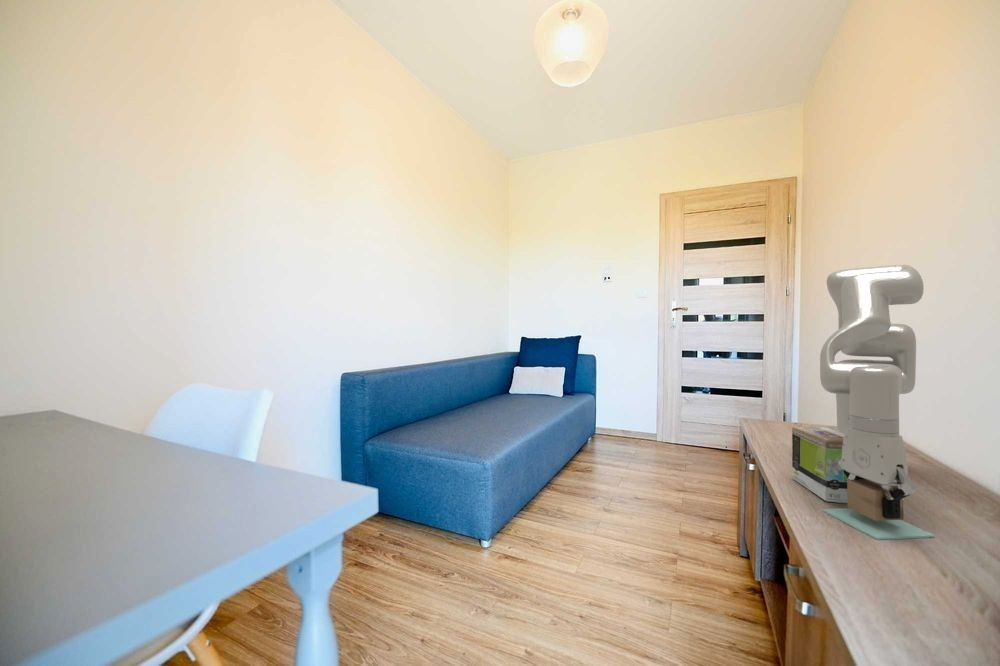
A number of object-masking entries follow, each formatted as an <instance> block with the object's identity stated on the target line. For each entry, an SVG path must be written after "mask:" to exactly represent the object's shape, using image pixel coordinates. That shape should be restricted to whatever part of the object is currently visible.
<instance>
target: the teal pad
mask: <svg viewBox="0 0 1000 666" xmlns="http://www.w3.org/2000/svg"><path fill="white" fill-rule="evenodd" d="M821 511H822V512H823V513H824V514H825V513H826V514H827V515H829V516H831V517H833V518H834V519H837V520H839V521H840V522H842V523H844V524H847V525H848V526H850V527H852V528H854V529H856V530H857V531H859V532H861V533H862V534H865V535H866V536H869V537H871V538H872V539H875V540H880V541H881V540H899V539H901V540H902V539H904V540H905V539H926V538H927V539H928V538H929V537H932V538H935V537H936V536H935V534H933V533H931V532H929V531H926V530H924V529H922V528H920V527H917V526H915V525H912V524H911V523H908V522H906V521H904V520H879V521H875V520H873V519H871V518H869V517H867V516H865V515H863V514H861V513H859V512H856V511H854V510H852V509H850V508H848V507H845V508H823V509H821Z"/></svg>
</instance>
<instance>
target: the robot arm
mask: <svg viewBox="0 0 1000 666" xmlns="http://www.w3.org/2000/svg"><path fill="white" fill-rule="evenodd" d="M826 288H827V291H828V293H829V295H830V297H831V298H832V301H833V302H834V304H835V306H836V308H837V309H836V310H837V313H838V315H837V317H838V318H837V320H838V325H837V326H838V330H836V331H835V332H833V333H832V334H831V335H830V336H829V337H828V338H827V340H825V342H824V343H823V345H822V347H821V350H820V354H819V355H820V356H819V378H820V379H819V380H820V385H821V386H822V388H823V389H824V390H825V391H826V392H828V393H830V394H834V395H835V399H836V430H837V431H840V432H843V433H845V434H844V439H843V446H842V459H840V460H839V461H838V464H839V465H840V467H841V468H842V470H843V472H844V474H845V475H846V476H847V478H848V480H858V479H866V480H869V481H871V482H874V483H877V484H880V485H881V486H882V489H883V491H884V494H885V497H886V498H883V500H882V502H883V517H884V518H886V519H893V518H900V500H903V501H904V500H905V498H907V497H908V496H910V495H912V494H914V493H916V492H918V490H919V488H918V486H917V485H916V484H915V482H913V480H912V479H911V477H910V476H909V475H908V474H909V473H908V471H909V470H908V460H907V459H908V458H907V453H906V447H905V443H904V439H903V436H902V435H900V395H906V394H909V393H912V392H913V390H914V388H915V385H916V373H917V372H916V370H917V369H916V366H917V363H916V362H917V339H916V337H917V336H916V334H915V331H914V330H913V328H912V327H911V326H909V325H908V324H903V323H891V316H890V307H889V306H897V305H898V306H899V305H901V306H902V305H914V304H916V303H918V302H920V301H921V299H922V298H923V295H924V280H923V278H922V276H921V274H920V272H919V271H918V270H916V269H915V268H914V267H913V266H911V265H909V264H898V265H897V264H896V265H893V264H892V265H883V266H870V267H869V266H867V267H858V268H857V267H856V268H847V269H846V268H845V269H842V270H837V271H833V272H831V273H830V274H829V275H828V276H827V278H826ZM839 352H841V353H842V354H844V355H846V356H850V357H851V356H852V357H866V358H867V357H870V358H871V357H872V358H873V357H875V358H881V357H882V358H890V359H891V360H884V359H883V360H879V359H877V360H876V359H851V358H850V359H842V360H840V361H835V356H836V355H837V354H838V353H839ZM890 486H892V487H893V490H894V491H893V492H892V491H891V488H890Z"/></svg>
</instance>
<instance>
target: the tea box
mask: <svg viewBox="0 0 1000 666" xmlns="http://www.w3.org/2000/svg"><path fill="white" fill-rule="evenodd" d="M791 430H792V431H791V434H792V435H791V439H792V441H791V445H792V446H791V448H792V449H791V455H792V457H791V459H792V461H791V463H792V465H791V466H792V467H791V468H792V469H791V471H792V480H794V481H796V482H797V483H798V484H800V485H802V486H803V487H805V488H806V489H807V490H809V491H811V492H812V493H814V494H815V495H816V496H818V497H819V498H821V499H822V500H824V501H825V502H829V503H839V504H847V480H848V478H847V476H846V475H845V474H844V472H843V470H842V468H841V467H840V465H839V464H838V461H839V460H840V459H842V446H843V439H844V434H845V433H843V432H840V431H837V429H835V428H833V427H832V428H831V427H830V428H829V427H814V426H813V427H810V426H791Z"/></svg>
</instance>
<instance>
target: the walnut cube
mask: <svg viewBox="0 0 1000 666" xmlns="http://www.w3.org/2000/svg"><path fill="white" fill-rule="evenodd" d="M890 488H891V491H892V492H893V491H894V490H893V487H892V486H890ZM883 498H886V497H885V494H884V491H883V489H882V486H881V485H880V484H877V483H874V482H871V481H869V480H866V479H858V480H847V503H846V504H847V505H846V506H847V507H846V508H850V509H852V510H854V511H856V512H859V513H861V514H863V515H865V516H867V517H869V518H871V519H873V520H875V521H879V520H902V521H904V499H903V500H900V518H893V519H886V518H884V517H883V502H882V500H883Z"/></svg>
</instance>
